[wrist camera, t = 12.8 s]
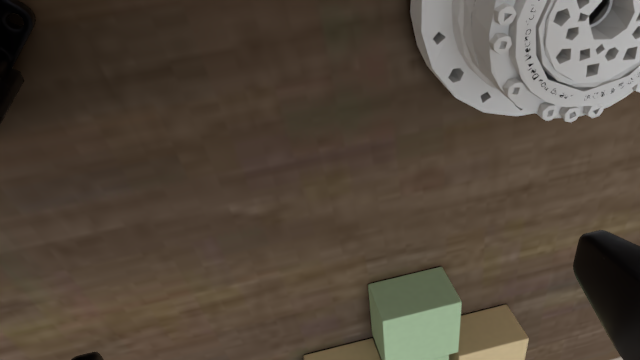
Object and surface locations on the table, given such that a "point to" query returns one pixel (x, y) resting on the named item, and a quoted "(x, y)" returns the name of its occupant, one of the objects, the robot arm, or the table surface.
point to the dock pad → (474, 340)
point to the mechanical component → (532, 53)
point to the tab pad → (415, 316)
